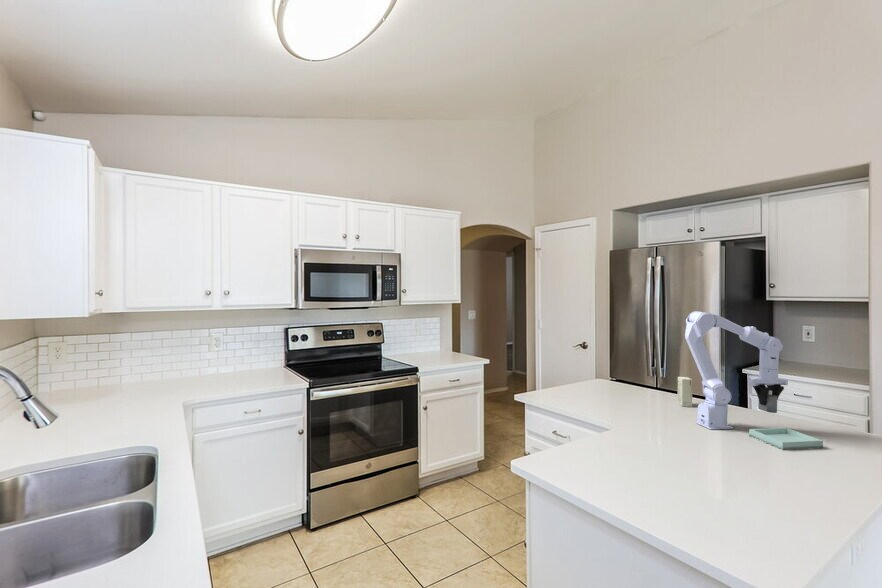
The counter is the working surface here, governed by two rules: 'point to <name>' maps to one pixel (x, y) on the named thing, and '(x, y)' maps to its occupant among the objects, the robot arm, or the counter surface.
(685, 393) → the skincare box
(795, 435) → the sage tray
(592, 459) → the counter surface
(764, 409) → the grey rounded piece
